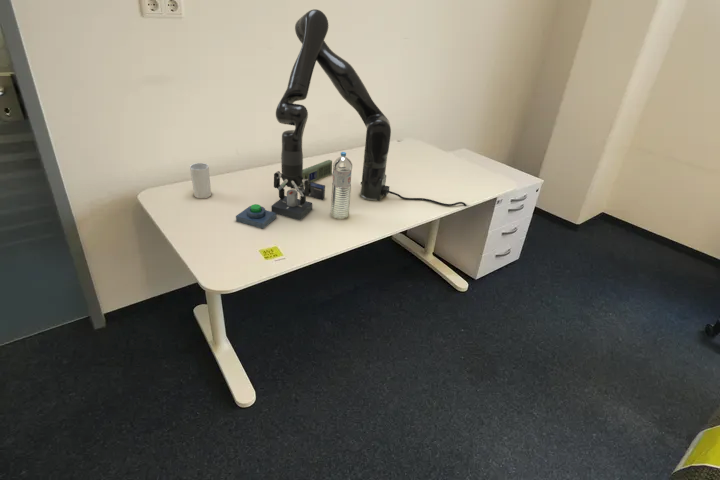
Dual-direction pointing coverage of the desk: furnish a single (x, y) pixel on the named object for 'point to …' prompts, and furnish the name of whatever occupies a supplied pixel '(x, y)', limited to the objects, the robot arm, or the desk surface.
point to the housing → (256, 217)
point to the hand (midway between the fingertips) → (292, 201)
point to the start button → (255, 208)
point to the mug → (200, 180)
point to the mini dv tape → (317, 191)
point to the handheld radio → (317, 171)
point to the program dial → (292, 198)
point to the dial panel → (291, 209)
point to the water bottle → (341, 187)
